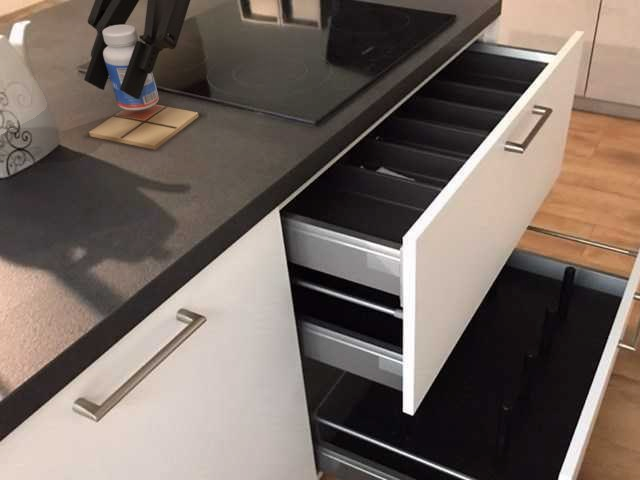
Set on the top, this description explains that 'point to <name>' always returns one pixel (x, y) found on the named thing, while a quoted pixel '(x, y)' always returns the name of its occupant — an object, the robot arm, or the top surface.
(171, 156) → the top surface
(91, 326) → the top surface
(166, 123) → the grid board
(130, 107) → the pill bottle
